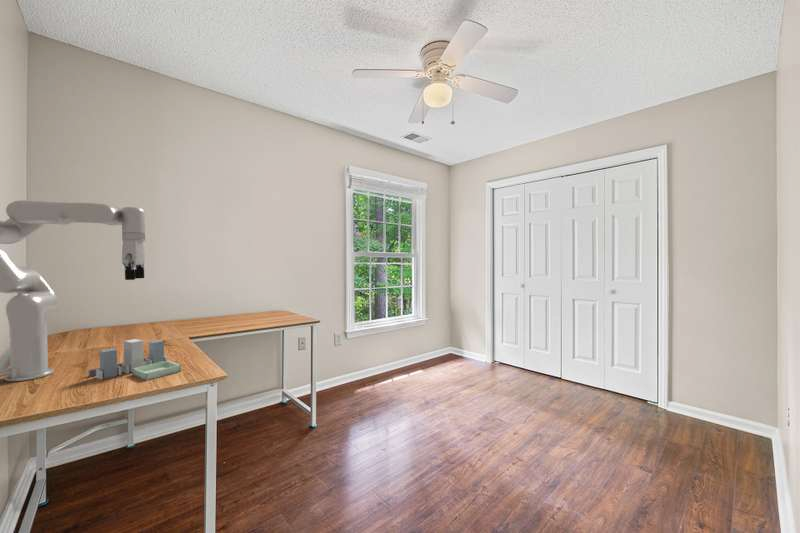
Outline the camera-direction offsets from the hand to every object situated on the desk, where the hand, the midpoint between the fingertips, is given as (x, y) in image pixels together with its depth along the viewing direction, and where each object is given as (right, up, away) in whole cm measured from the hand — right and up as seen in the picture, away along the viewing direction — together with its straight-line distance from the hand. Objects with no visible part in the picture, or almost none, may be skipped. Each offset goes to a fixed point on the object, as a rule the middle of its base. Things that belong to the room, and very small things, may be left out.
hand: (135, 279), depth 141 cm
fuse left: (-1, -37, -11) cm, 38 cm away
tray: (+15, -37, -8) cm, 40 cm away
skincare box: (+3, -37, -5) cm, 37 cm away
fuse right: (+7, -36, +2) cm, 37 cm away
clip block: (+3, -36, -5) cm, 37 cm away
